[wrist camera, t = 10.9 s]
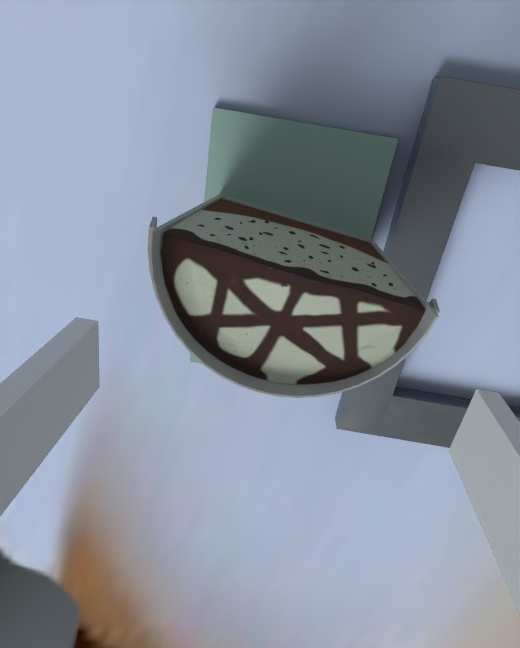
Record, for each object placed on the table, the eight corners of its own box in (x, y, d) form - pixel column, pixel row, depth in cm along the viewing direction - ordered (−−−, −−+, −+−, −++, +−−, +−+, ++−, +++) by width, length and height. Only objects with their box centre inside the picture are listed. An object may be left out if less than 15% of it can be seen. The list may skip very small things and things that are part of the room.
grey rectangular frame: (744, 130, 22) (767, 131, 21) (549, 454, 32) (558, 466, 31) (433, 78, 22) (440, 76, 21) (335, 418, 32) (336, 428, 31)
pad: (396, 138, 23) (398, 138, 23) (330, 382, 30) (331, 385, 30) (214, 107, 23) (213, 107, 23) (191, 358, 30) (190, 361, 30)
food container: (174, 282, 27) (116, 365, 18) (194, 186, 25) (136, 228, 16) (358, 335, 28) (387, 439, 19) (396, 247, 25) (451, 320, 16)
